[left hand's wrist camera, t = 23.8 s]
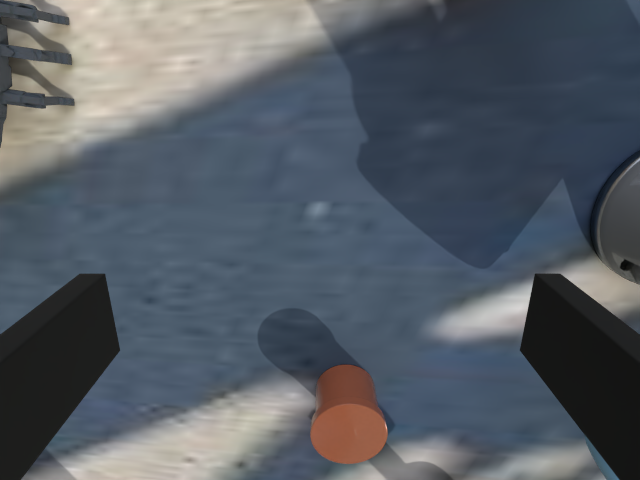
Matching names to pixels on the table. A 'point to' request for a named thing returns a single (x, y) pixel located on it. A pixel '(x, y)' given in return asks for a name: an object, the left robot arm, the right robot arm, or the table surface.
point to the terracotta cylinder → (347, 416)
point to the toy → (3, 80)
